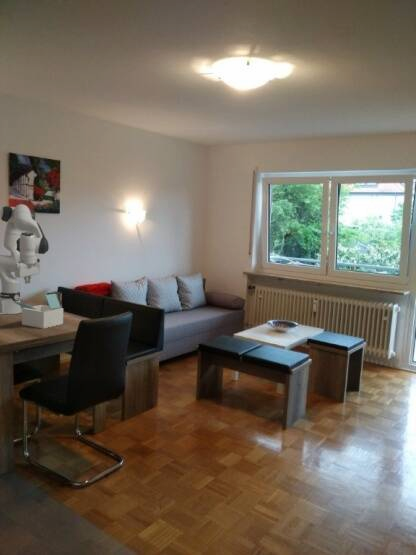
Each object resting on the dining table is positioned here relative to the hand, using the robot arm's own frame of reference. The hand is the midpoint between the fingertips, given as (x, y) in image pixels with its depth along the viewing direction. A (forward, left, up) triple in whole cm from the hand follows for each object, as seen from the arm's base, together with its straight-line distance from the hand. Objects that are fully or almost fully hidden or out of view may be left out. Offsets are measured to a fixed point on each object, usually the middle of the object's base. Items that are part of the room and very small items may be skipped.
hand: (27, 283), depth 264 cm
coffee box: (-10, +32, -27) cm, 43 cm away
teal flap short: (+11, +12, -16) cm, 22 cm away
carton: (+2, +10, -26) cm, 28 cm away
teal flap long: (0, +2, -16) cm, 16 cm away
